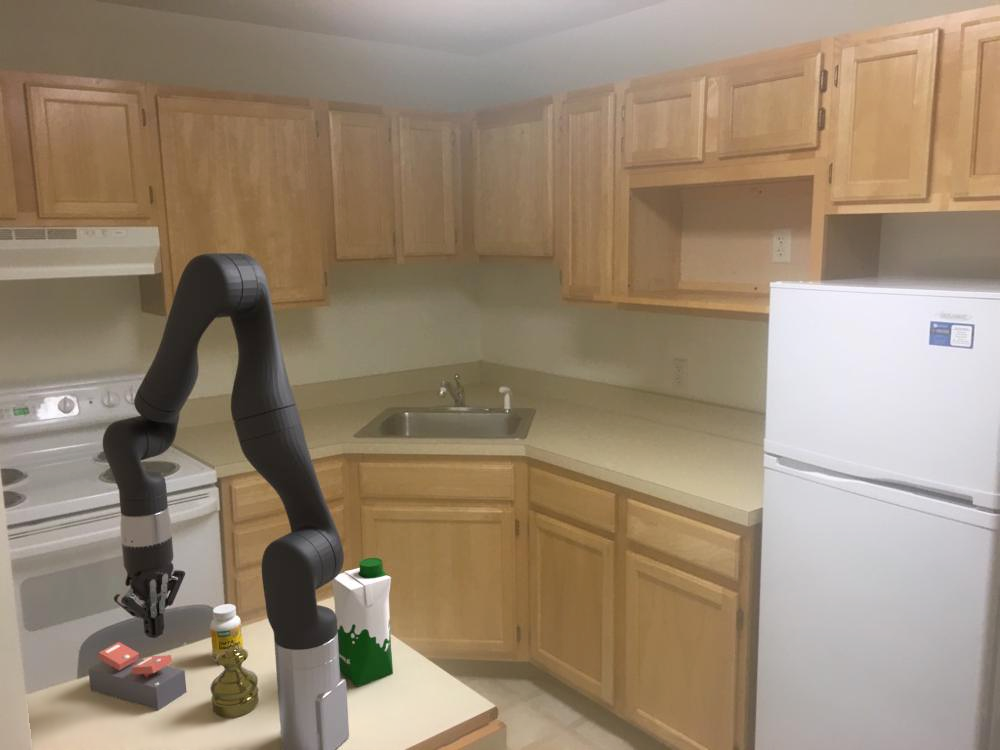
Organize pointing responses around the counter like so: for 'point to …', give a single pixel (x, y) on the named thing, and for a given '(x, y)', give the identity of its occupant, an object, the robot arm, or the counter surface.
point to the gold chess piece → (234, 685)
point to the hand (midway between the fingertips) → (155, 635)
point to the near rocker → (151, 665)
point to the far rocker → (118, 656)
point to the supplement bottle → (225, 629)
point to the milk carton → (363, 622)
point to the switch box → (138, 684)
